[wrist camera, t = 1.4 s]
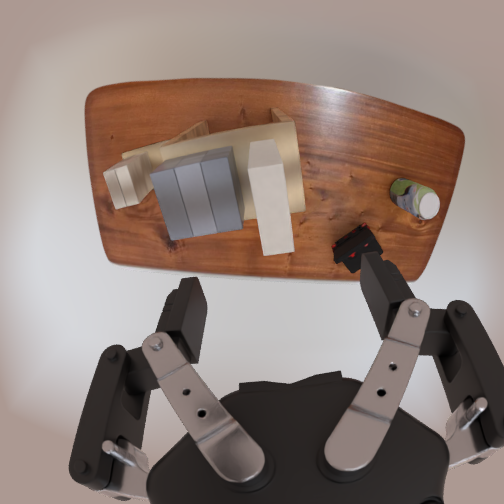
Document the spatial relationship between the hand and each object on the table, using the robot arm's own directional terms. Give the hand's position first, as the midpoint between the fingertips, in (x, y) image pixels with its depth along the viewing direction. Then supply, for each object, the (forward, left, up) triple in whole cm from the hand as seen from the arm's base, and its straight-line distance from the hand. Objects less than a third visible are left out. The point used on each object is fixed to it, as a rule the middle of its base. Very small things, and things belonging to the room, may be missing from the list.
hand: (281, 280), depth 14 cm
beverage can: (+14, +27, -42) cm, 52 cm away
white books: (+2, -20, -42) cm, 46 cm away
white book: (0, 0, -18) cm, 18 cm away
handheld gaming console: (+26, +16, -42) cm, 52 cm away
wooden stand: (0, -4, -42) cm, 42 cm away
